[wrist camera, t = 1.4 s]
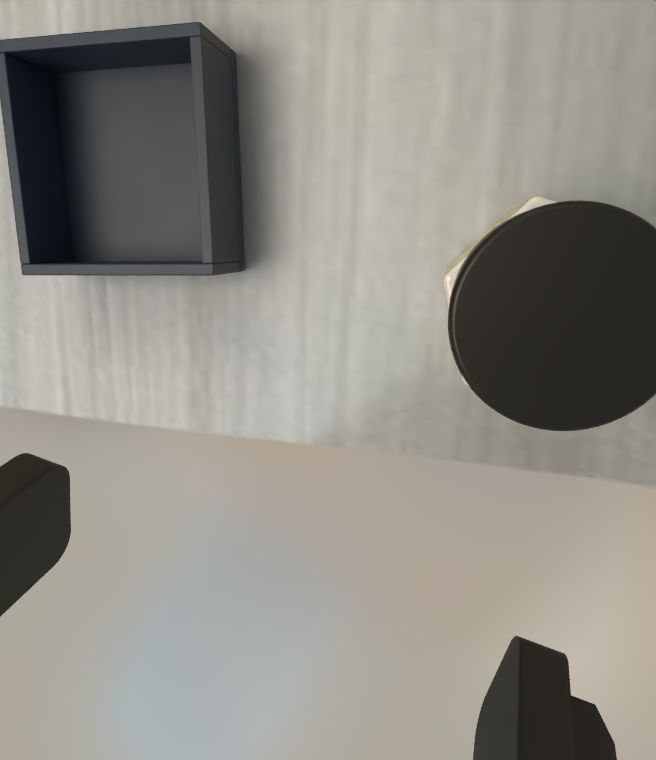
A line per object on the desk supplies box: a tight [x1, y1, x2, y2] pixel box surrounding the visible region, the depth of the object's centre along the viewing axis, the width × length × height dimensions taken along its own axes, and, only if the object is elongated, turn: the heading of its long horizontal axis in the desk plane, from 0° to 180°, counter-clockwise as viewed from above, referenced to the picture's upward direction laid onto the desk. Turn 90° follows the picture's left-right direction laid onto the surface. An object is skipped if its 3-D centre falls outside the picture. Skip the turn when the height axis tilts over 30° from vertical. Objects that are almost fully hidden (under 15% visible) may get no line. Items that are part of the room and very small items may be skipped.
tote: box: [0, 22, 244, 275], centre depth 32 cm, size 12×11×5 cm
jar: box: [443, 196, 656, 431], centre depth 26 cm, size 9×8×12 cm
